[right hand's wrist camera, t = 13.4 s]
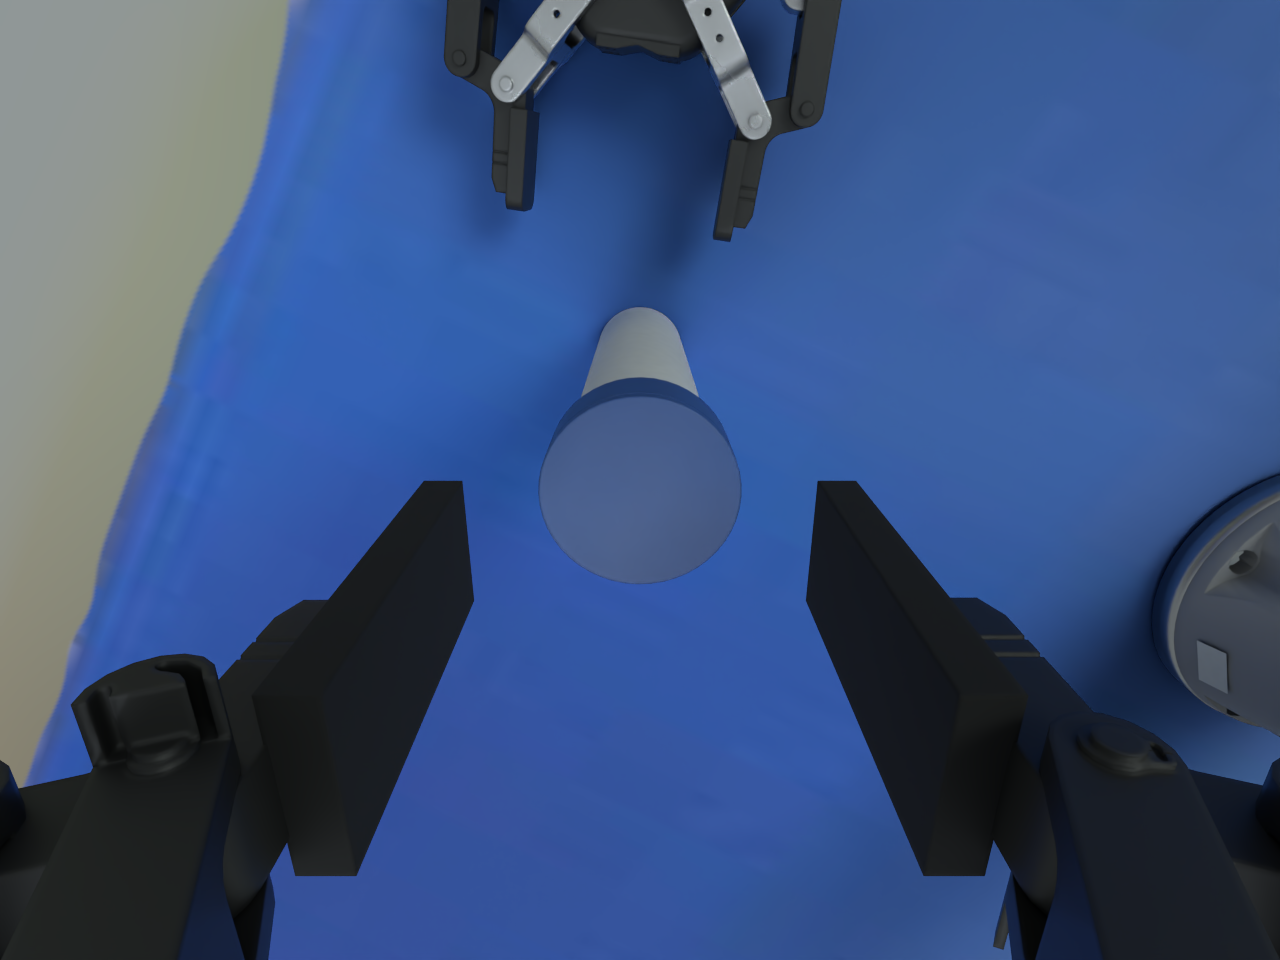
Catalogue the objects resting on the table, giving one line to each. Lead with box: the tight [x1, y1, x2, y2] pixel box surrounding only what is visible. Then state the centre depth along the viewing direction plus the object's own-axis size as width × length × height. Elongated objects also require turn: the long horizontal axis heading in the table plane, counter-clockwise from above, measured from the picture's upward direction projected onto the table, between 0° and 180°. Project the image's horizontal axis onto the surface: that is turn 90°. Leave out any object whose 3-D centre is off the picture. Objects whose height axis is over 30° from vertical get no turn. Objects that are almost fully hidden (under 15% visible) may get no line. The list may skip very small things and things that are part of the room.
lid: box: [539, 377, 741, 584], centre depth 17 cm, size 5×5×2 cm
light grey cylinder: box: [581, 307, 699, 397], centre depth 26 cm, size 4×4×18 cm
